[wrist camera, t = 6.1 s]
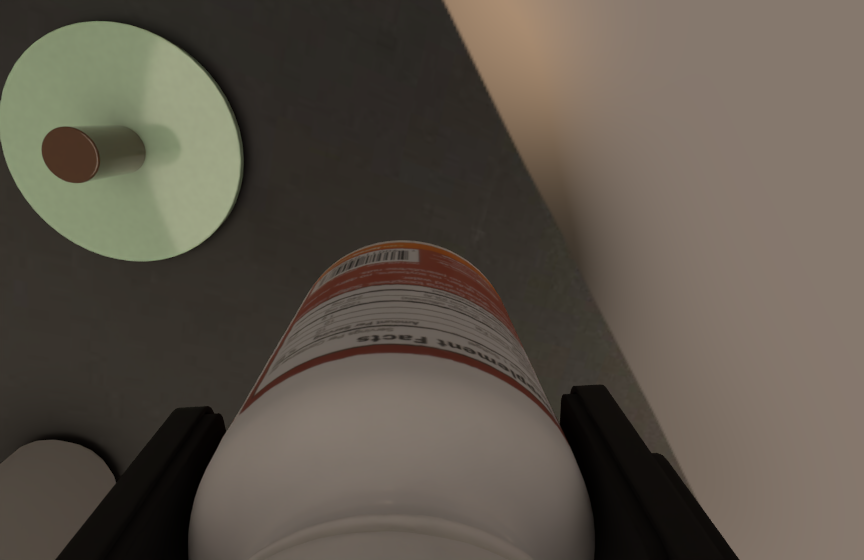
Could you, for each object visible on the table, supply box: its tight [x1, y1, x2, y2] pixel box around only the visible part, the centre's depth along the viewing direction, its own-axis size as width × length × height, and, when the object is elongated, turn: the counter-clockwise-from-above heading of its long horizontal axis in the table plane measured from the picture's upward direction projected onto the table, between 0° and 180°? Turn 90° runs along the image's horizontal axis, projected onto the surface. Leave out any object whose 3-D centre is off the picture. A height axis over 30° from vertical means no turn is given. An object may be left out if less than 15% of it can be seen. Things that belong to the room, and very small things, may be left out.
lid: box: [0, 21, 244, 261], centre depth 26 cm, size 13×13×6 cm
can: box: [0, 440, 116, 560], centre depth 30 cm, size 8×8×12 cm
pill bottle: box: [188, 240, 595, 560], centre depth 10 cm, size 6×6×11 cm
